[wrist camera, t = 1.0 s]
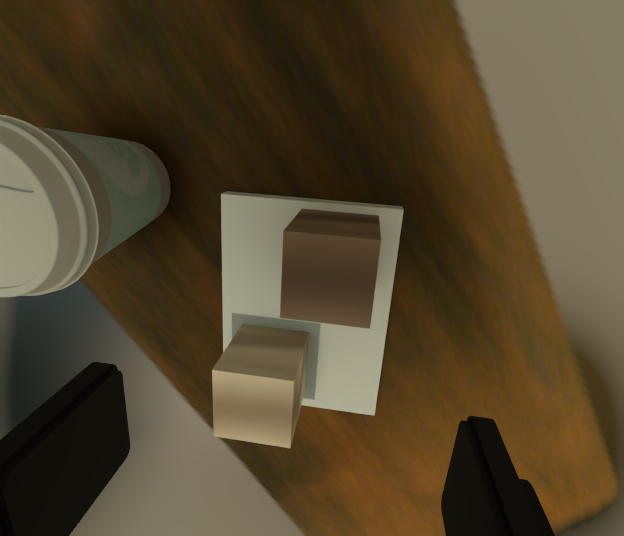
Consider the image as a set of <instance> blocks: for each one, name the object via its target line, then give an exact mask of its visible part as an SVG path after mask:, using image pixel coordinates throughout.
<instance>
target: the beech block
mask: <svg viewBox="0 0 624 536" xmlns="http://www.w3.org/2000/svg"><path fill="white" fill-rule="evenodd" d="M308 337H309V332H303V331H294V330H286V329H278V328H270V327H262V326H254V325H246V324H242V325H241V327H240V328H239V330H238V331H237V333H236V334H235V336H234V337H233V339H232V340H231V342H230V343H229V345H228V347H227V348H226V350H225V351H224V353H223V354H222V356H221V357H220V359H219V360H218V362H217V363H216V365H215V366H214V368H213V369H212V382H213V420H214V436H216V437H222V438H229V439H235V440H242V441H248V442H254V443H261V444H267V445H274V446H280V447H286V448H290V447H291V443H292V439H293V435H294V431H295V427H296V423H297V419H298V415H299V411H300V407H301V404H302V400H303V396H304V392H305V382H306V367H307V352H308Z"/></svg>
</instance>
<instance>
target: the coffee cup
mask: <svg viewBox="0 0 624 536" xmlns="http://www.w3.org/2000/svg"><path fill="white" fill-rule="evenodd" d="M170 191H171V187H170V179H169V176H168V173H167V170H166V168H165V166H164V164H163V163H162V161H161V160H160V158H159V157H158V156H157V155H156V154H155V153H154V152H153V151H152V150H150V149H149V148H148V147H146V146H144V145H142V144H140V143H137V142H134V141H128V140H122V139H116V138H109V137H102V136H95V135H89V134H82V133H75V132H68V131H61V130H55V129H48V128H41V127H35V126H33V125H31V124H29V123H27V122H25V121H22V120H19V119H16V118H13V117H9V116H5V115H0V297H14V296H20V295H22V296H35V295H42V294H46V293H49V292H53V291H57V290H60V289H63V288H65V287H67V286H69V285H71V284H73V283H74V282H75V281H77V280H78V279H79V278H80V277H81V276H82V275H83V274H84V273H85V272H86V270H87V269H88V267H89V266H90V264H92V263H93V262H95V261H96V260H98V259H99V258H100V257H102V256H103V255H105V254H106V253H108V252H109V251H110V250H112V249H113V248H115V247H116V246H118V245H119V244H120V243H122V242H123V241H125V240H126V239H127V238H129V237H130V236H132V235H133V234H135V233H136V232H137V231H139V230H140V229H142V228H143V227H145V226H146V225H147V224H149V223H150V222H151V221H153V220H154V219H156V218H157V217H158V216H160V215H161V214H162V212H163V211H164V210H165V208H166V207H167V204H168V202H169V198H170Z"/></svg>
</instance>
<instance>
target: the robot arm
mask: <svg viewBox="0 0 624 536" xmlns="http://www.w3.org/2000/svg"><path fill="white" fill-rule="evenodd" d="M129 450H130V439H129V431H128V421H127V413H126V404H125V395H124V386H123V378H122V373H121V371H118V369H117V367H116V365H113V364H107V363H100V362H93V363H92V364H90V365H89V366H87V367H86V368H85V369H84V370H83V371H82V372H80V373H79V374H78V375H77V376H75V378H73V379H72V380H71V381H69V382H68V383H67V384H66V385H65V386H64V387H62V388H61V389H60V390H59V391H58V392H57V393H55V394H54V395H53V396H52V397H51V398H49V399H48V400H47V401H46V402H45V403H43V404H42V405H41V406H40V407H39V408H38V409H36V410H35V411H34V412H33V413H32V414H30V415H29V416H28V417H27V418H26V419H25V420H23V421H22V422H21V423H20V424H19V425H17V426H16V427H15V428H14V429H13V430H12V431H10V432H9V433H8V434H7V435H6V436H4V437H3V438H2V439H1V440H0V536H69V535H70V534H71V532H72V531H73V530H74V528H75V527H76V526H77V524H78V523H79V522H80V520H81V519H82V517H83V516H84V514H85V513H86V512H87V511H88V509H89V508H90V507H91V505H92V504H93V503H94V501H95V500H96V498H97V497H98V496H99V494H100V493H101V492H102V490H103V489H104V487H105V486H106V485H107V484H108V482H109V480H111V478H112V477H113V475H114V474H115V473H116V471H117V470H118V469H119V467H120V466H121V465H122V463H123V462H124V461H125V459H126V457H127V455H128V453H129ZM441 509H442V516H443V522H444V527H445V532H446V536H555V535H554V533H553V530H552V528H551V526H550V524H549V522H548V519H547V517H546V515H545V513H544V510H543V508H542V506H541V504H540V502H539V499H538V497H537V495H536V493H535V490H534V489H533V487H532V485H531V483H530V482H528V481H527V480H523V479H519V478H518V476H517V473H516V471H515V468H514V466H513V464H512V461H511V459H510V457H509V454H508V452H507V449H506V447H505V445H504V442H503V440H502V438H501V435H500V433H499V430H498V428H497V426H496V423H495V422H494V420H493V419H489V418H482V417H475V416H469V417H468V419H467V421H460V424H459V427H458V431H457V436H456V440H455V444H454V448H453V452H452V457H451V461H450V465H449V469H448V473H447V478H446V482H445V486H444V490H443V494H442V501H441Z"/></svg>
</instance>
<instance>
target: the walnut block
mask: <svg viewBox="0 0 624 536" xmlns="http://www.w3.org/2000/svg"><path fill="white" fill-rule="evenodd" d="M380 246H381V233H380V222H379V215H368V214H357V213H345V212H334V211H323V210H312V209H301V210H300V212H299V213H298V214H297V215H296V216H295V217H294V219H293V220H292V221H291V222H290V223H289V225H288V226H287V227H286V228H285V229H284V230H283V251H282V277H281V302H280V318H285V319H294V320H302V321H310V322H319V323H327V324H335V325H343V326H352V327H360V328H368V329H370V325H371V317H372V309H373V301H374V293H375V286H376V278H377V270H378V262H379V254H380Z"/></svg>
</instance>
